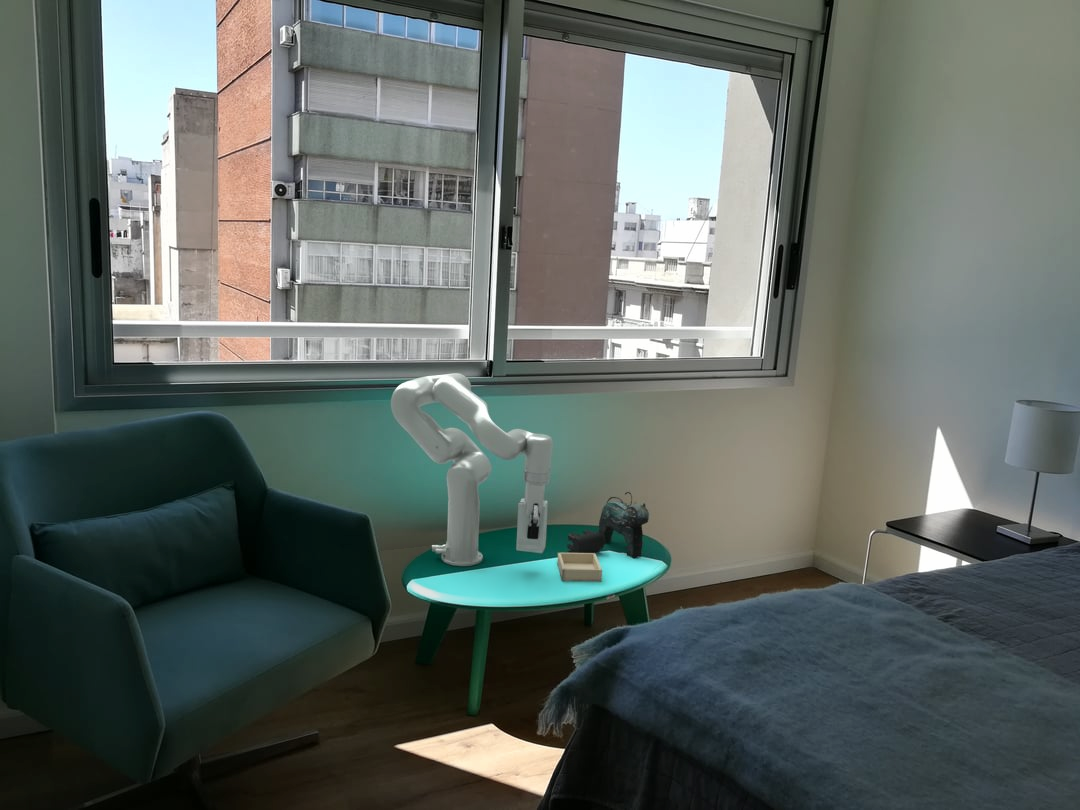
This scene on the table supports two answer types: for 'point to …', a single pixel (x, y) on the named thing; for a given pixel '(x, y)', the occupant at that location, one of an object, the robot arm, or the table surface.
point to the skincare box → (522, 530)
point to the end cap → (585, 542)
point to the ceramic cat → (624, 523)
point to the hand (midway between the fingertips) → (531, 533)
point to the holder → (579, 567)
